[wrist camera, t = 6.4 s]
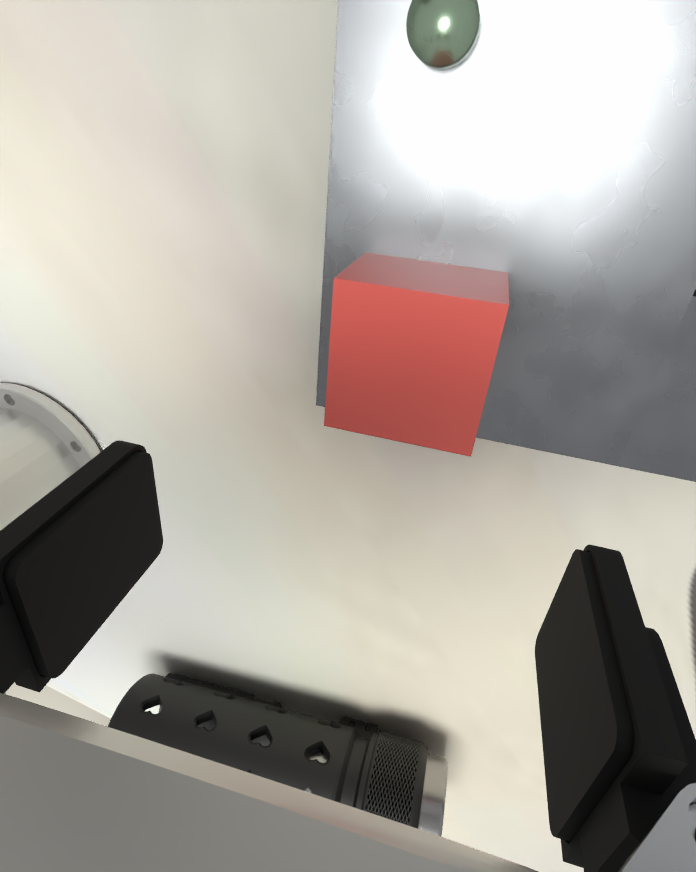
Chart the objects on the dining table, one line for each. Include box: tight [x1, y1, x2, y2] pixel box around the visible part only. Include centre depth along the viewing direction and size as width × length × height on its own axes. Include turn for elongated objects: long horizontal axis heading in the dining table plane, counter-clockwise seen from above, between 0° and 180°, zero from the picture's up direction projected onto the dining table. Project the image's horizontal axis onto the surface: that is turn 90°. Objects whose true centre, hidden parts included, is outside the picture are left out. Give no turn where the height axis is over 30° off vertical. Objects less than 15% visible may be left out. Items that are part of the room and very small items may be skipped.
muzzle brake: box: [108, 673, 448, 837], centre depth 43 cm, size 10×28×10 cm, turn 90°
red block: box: [324, 252, 509, 456], centre depth 21 cm, size 6×6×5 cm
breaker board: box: [316, 0, 696, 482], centre depth 20 cm, size 20×22×4 cm
